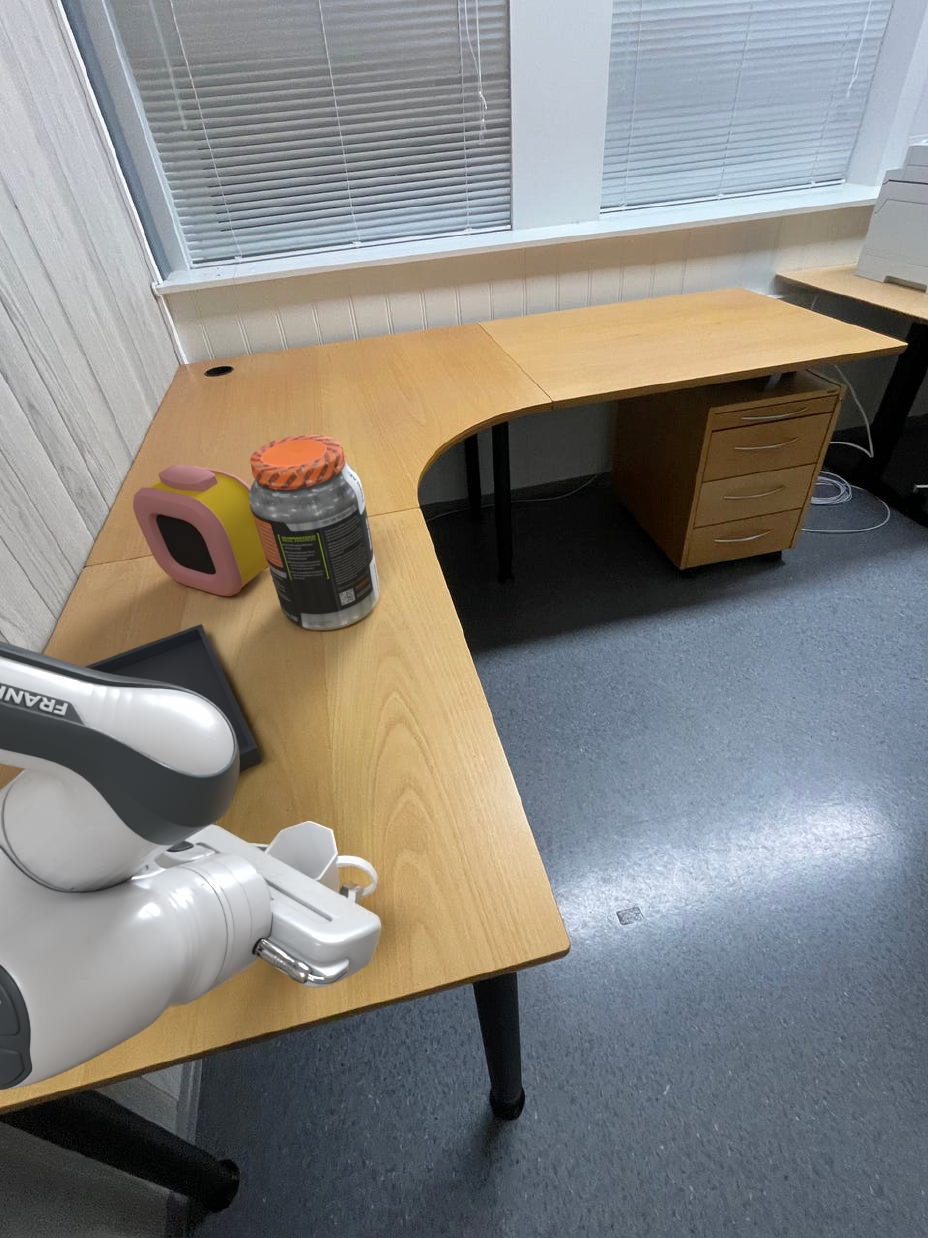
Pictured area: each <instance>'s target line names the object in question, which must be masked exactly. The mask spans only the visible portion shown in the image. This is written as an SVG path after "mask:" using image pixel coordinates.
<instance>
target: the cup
mask: <svg viewBox="0 0 928 1238" xmlns="http://www.w3.org/2000/svg"><path fill="white" fill-rule="evenodd" d="M268 845H269V846H268V847H267V848H266V850H265V851H264V852H265V853H267V854H269V855H271V856H273V857H274V858H276V859H278V860H280V861H281V862H283V863H285V864H287V865H289V866H290V867H292V868H294V869H296V870H298V871H299V872H301V873H303V874H305V875H306V876H308V877H310V878H312V879H314V880H315V881H317V882H319V883H321V884H322V885H324V886H326V887H328V888H330V889H331V890H333V891H335V892H337V893H338V894H340V887H341V886H340V885H341V881H340V880H341V879H340V878H341V877H340V868H342V867H351V866H352V867H357V868H358V869H360V870H362V871H364V872H366V873H367V875H368V876H369V878H370V879H371V881H372V883H370V884H369V885H368V886H366V887H365V888H364V887H363V888H364V892H363V895H362V898H361V900H362V899H365V898H367V897H369V896H371V894H373V893H374V892H375V891H376V889H377V884H378V879H379V875H378V872H377V871H376V869H375V867H374V866H373V865H372V864H371V863H370V862H369V861H367V860H366V859H364V858H362V857H360V856H356V855H339V853H338V849H337V843H336V839H335V835H334V830H333V829H331V828H330V827H327V826H324V825H322V824H319V823H316V822H314V821H311V820H308V821H305V822H300V823H298V824H296V825H292V826H289V827H286V828H283V829H281V830H280V831H279V832H278V833H277V834H276V836H275V837H274V838H273V839H272V840H271V842H270V843H269V844H268Z"/></svg>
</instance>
